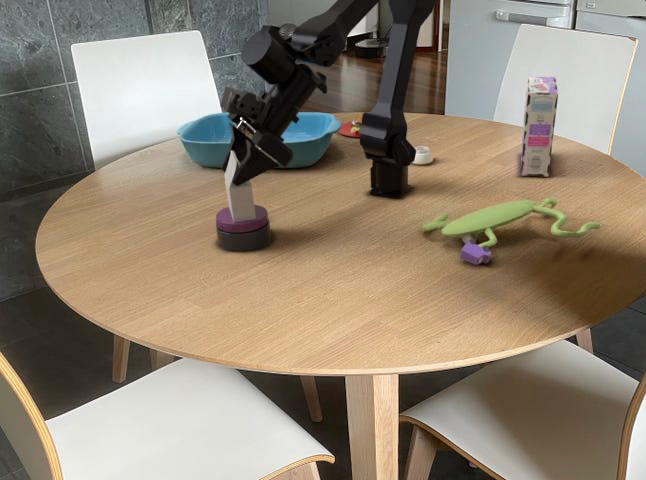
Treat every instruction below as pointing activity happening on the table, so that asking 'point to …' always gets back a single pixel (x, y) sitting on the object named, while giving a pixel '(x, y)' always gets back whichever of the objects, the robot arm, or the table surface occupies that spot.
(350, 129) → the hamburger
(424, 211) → the table surface
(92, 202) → the table surface
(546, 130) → the candy box
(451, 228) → the figurine
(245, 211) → the paper tea packet
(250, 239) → the jar
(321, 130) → the casserole dish
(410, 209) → the table surface
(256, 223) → the jar lid
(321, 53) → the robot arm
